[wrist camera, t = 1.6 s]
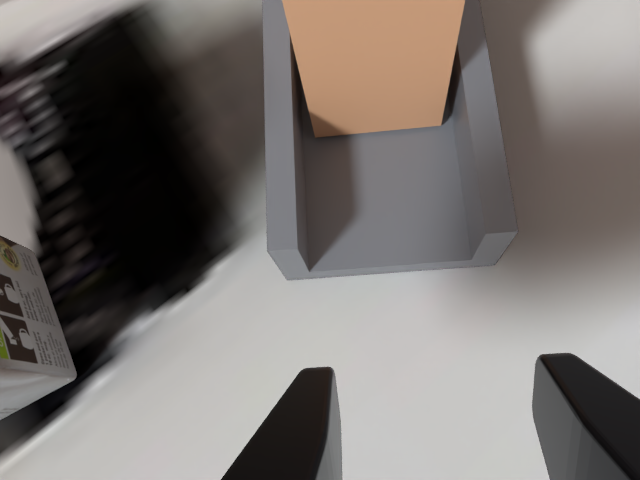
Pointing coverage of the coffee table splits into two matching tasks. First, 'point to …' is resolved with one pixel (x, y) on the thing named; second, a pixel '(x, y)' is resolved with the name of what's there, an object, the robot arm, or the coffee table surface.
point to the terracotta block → (374, 61)
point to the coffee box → (28, 333)
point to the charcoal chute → (385, 174)
